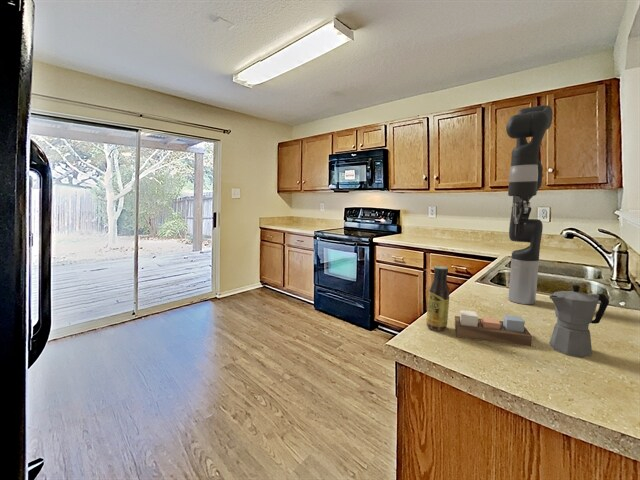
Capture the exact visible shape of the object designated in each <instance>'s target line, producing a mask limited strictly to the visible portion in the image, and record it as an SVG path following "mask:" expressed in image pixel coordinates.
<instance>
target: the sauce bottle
mask: <svg viewBox="0 0 640 480" xmlns="http://www.w3.org/2000/svg"><path fill="white" fill-rule="evenodd" d="M433 272H434V273H433V281H432V282H431V285H430V287H429V290H428V295H427V306H426V327H427V328H428V329H429V330H433V331H435V332H443V331H445V330H447V325H448V319H449V308H450V307H449V306H450V290H451V289H450V287H449V285H448V282H447V281H448V280H447V277H448V272H449V267H447V266H443V265H436V266H434V268H433Z"/></svg>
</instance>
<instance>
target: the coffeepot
mask: <svg viewBox="0 0 640 480" xmlns="http://www.w3.org/2000/svg"><path fill="white" fill-rule="evenodd" d="M571 286H572V290H559V291H555V292H553V294H551V295H549V299H550V300H551V301H552V302H553V304H554V311H555V312H554V313H555V317H556V323H555V324H554V327H553V330H552V332H551V337H550V340H549V342H548V343H549V345H550V347H551V349H553V350H554V351H556V352H559V353H561V354H564V355H567V356H571V357H576V358H587V357H590V356H591V355H593V348H592V347H593V346H592V340H591V330H590V329H589V326H590V324H592V325H593V324H594V325H595V324H599V323H600V322H601V320H602V318H603V316H604V314H605V312H606V310H607V307H608V306H609V305H610V304H609V303H610V299H608V297H607V296H606V295H605V294H603V293H589V294H587V293H584V292H580V288H581V286H580V285H579V284H573V285H571ZM599 301H600V303H599ZM598 303H599V306H598V310H597V311H596V309H597V305H598ZM595 312H596V313H595ZM594 315H595V318H594ZM593 318H594V319H593Z"/></svg>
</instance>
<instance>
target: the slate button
mask: <svg viewBox="0 0 640 480" xmlns="http://www.w3.org/2000/svg"><path fill="white" fill-rule="evenodd" d="M502 321H503V327H504V329H505V330H508V331H517V332H524V326H525V320H524V319H523V318H522V316H520V315H519V316H518V315H510V314H503V320H502Z"/></svg>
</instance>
